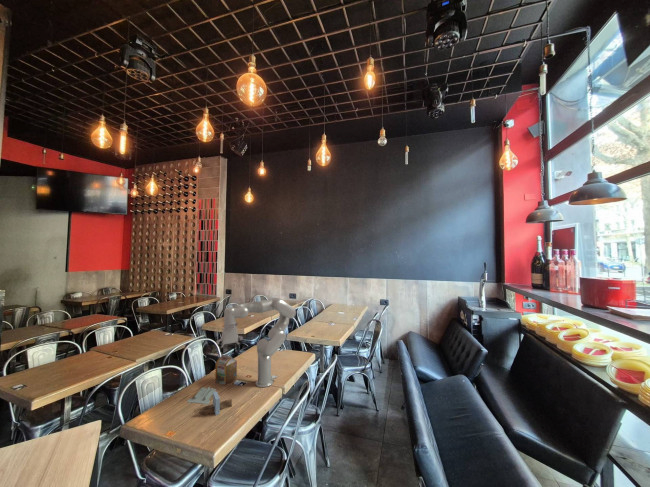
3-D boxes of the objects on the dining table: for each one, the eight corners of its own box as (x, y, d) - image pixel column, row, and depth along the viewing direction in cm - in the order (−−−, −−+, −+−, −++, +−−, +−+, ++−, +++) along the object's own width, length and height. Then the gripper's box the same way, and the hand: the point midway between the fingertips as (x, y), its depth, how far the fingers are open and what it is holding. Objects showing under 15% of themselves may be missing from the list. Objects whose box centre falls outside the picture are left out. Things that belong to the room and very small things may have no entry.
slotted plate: (212, 407, 161) (212, 392, 161) (216, 406, 162) (216, 391, 162) (215, 415, 152) (215, 399, 153) (219, 414, 153) (219, 398, 154)
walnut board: (231, 405, 162) (231, 398, 162) (231, 406, 161) (231, 399, 161) (199, 414, 153) (199, 407, 153) (199, 416, 152) (199, 409, 152)
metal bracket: (199, 384, 179) (219, 386, 176) (200, 391, 180) (220, 393, 177) (185, 401, 165) (206, 403, 162) (186, 408, 166) (207, 411, 163)
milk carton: (236, 379, 197) (236, 354, 198) (225, 386, 187) (225, 359, 188) (226, 377, 201) (226, 352, 202) (215, 382, 192) (215, 356, 193)
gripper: (241, 323, 186) (241, 347, 185) (215, 326, 176) (215, 352, 176) (244, 325, 179) (244, 350, 178) (217, 329, 170) (217, 356, 169)
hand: (229, 351), depth 177 cm, fingers open, 9 cm apart
